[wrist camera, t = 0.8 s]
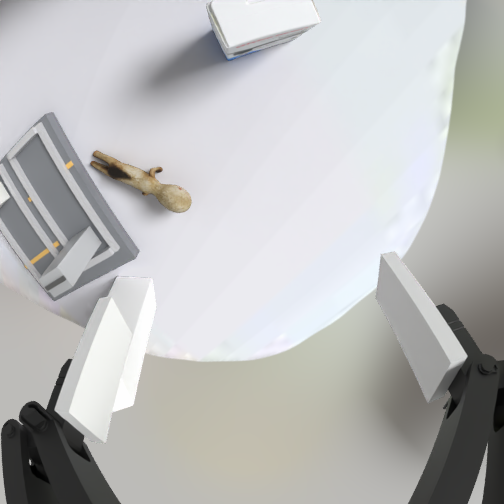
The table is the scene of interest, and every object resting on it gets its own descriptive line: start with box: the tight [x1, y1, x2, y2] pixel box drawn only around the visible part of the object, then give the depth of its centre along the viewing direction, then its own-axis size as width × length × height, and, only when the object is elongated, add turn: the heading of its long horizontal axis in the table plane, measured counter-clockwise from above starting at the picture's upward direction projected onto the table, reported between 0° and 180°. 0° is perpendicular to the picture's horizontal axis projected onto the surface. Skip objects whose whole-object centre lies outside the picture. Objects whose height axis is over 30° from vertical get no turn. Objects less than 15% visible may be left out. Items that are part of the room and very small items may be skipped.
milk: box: [107, 276, 157, 412], centre depth 36 cm, size 6×6×22 cm
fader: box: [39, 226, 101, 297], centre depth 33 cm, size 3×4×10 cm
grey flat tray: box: [0, 112, 139, 301], centre depth 36 cm, size 24×20×3 cm
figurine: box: [90, 151, 192, 213], centre depth 34 cm, size 4×5×15 cm
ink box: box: [206, 0, 321, 61], centre depth 23 cm, size 8×5×12 cm, turn 111°
